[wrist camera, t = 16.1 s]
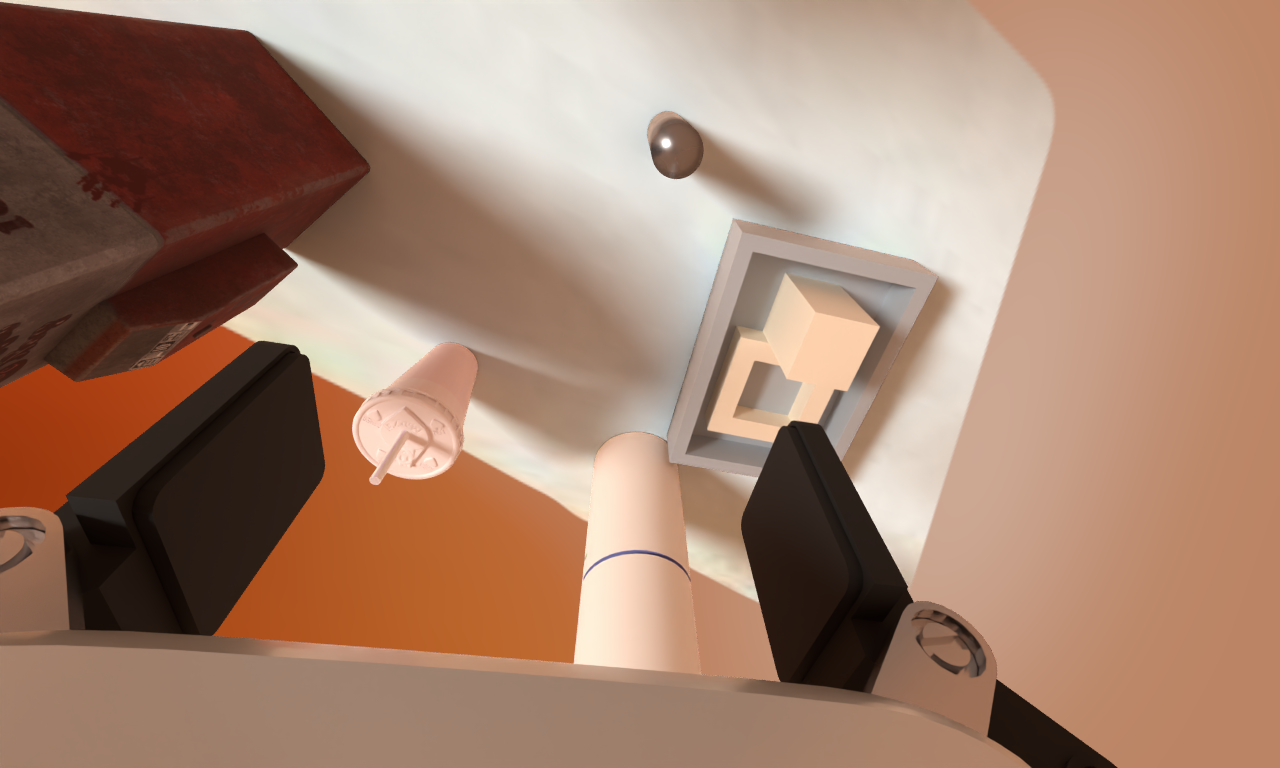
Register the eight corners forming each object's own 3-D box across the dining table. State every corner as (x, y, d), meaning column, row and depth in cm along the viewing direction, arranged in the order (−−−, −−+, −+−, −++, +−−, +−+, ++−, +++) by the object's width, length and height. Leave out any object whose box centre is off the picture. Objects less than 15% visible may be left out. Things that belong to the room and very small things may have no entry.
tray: (732, 218, 35) (742, 232, 32) (913, 260, 36) (938, 276, 33) (666, 435, 44) (669, 462, 41) (814, 461, 45) (827, 489, 42)
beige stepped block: (865, 291, 37) (911, 333, 31) (798, 433, 43) (825, 492, 37) (757, 266, 36) (782, 304, 30) (704, 415, 42) (716, 472, 36)
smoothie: (498, 334, 39) (437, 450, 27) (493, 406, 42) (436, 539, 30) (409, 318, 38) (305, 430, 26) (410, 392, 41) (318, 523, 29)
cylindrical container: (693, 454, 45) (749, 809, 23) (648, 508, 48) (661, 865, 26) (621, 418, 43) (608, 768, 21) (579, 476, 46) (530, 834, 24)
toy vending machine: (311, 276, 37) (-319, 668, 12) (156, 129, 32) (-1344, 300, 8) (400, 199, 34) (-174, 502, 10) (246, 27, 29) (-1570, -198, 5)
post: (652, 106, 31) (658, 116, 24) (691, 116, 32) (709, 129, 24) (643, 149, 33) (646, 172, 25) (680, 158, 33) (695, 184, 25)
